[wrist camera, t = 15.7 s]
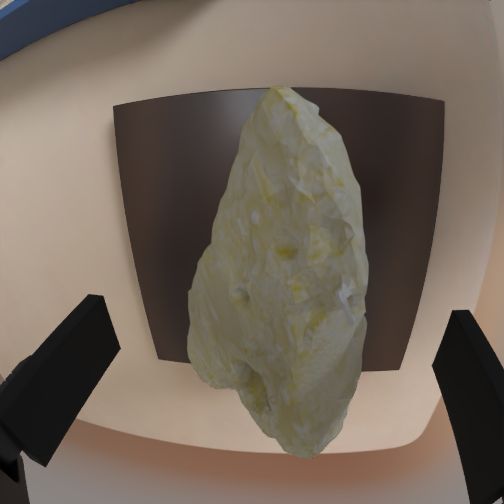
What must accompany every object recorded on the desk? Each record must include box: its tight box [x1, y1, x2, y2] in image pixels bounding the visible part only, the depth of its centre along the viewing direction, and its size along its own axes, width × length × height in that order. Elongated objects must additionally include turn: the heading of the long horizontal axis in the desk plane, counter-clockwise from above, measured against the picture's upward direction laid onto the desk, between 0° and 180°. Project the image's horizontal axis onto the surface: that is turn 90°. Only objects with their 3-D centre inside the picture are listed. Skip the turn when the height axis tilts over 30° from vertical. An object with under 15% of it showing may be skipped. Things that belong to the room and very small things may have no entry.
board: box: [113, 87, 444, 372], centre depth 19 cm, size 18×18×2 cm
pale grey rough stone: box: [187, 86, 369, 458], centre depth 16 cm, size 15×7×15 cm
